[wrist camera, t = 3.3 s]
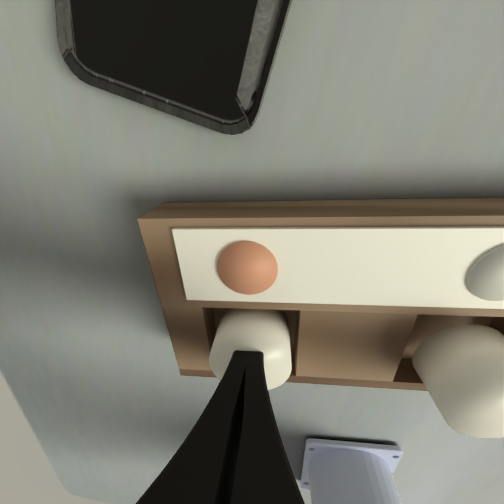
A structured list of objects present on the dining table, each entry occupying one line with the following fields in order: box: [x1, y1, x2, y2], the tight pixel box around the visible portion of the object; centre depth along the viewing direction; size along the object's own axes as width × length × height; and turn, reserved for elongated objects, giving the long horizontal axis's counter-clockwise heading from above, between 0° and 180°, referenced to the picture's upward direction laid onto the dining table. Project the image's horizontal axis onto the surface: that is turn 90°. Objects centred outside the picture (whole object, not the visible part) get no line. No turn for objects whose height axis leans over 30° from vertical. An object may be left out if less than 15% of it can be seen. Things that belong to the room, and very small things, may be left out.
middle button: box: [412, 325, 504, 438], centre depth 10 cm, size 4×4×2 cm
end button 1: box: [209, 308, 292, 390], centre depth 12 cm, size 4×4×2 cm
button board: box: [137, 197, 504, 391], centre depth 11 cm, size 10×29×2 cm, turn 92°
